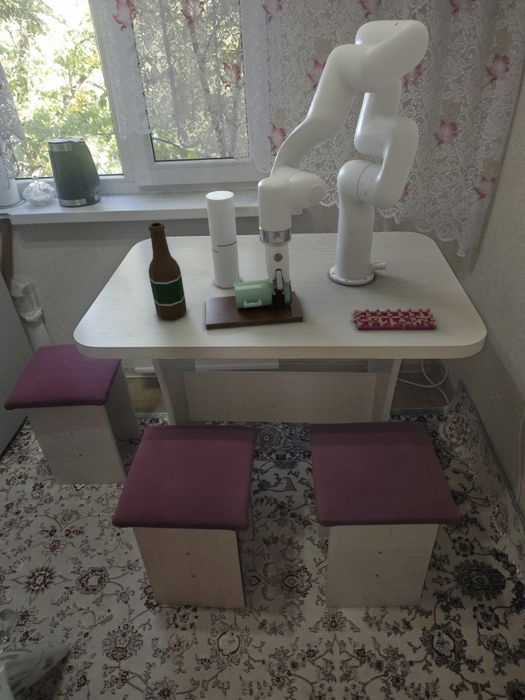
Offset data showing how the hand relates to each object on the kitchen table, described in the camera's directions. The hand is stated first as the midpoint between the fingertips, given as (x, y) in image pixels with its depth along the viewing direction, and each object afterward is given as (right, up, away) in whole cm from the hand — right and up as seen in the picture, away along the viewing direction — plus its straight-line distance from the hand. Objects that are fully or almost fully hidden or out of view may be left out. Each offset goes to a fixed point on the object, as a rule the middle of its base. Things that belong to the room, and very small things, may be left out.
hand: (276, 299), depth 117 cm
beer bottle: (-27, -4, +2) cm, 28 cm away
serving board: (-6, -3, +1) cm, 7 cm away
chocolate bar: (+28, -6, -5) cm, 29 cm away
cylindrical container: (-14, +7, +15) cm, 21 cm away
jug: (-10, 0, -3) cm, 11 cm away
